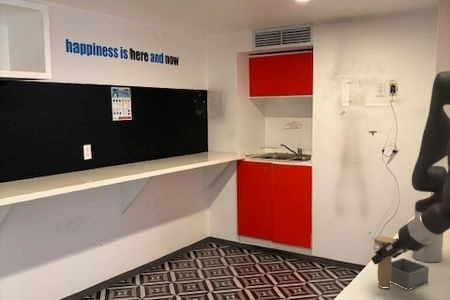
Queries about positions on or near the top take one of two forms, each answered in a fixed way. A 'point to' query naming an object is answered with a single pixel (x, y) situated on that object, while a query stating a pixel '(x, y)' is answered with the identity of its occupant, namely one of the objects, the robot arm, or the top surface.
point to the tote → (408, 273)
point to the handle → (384, 263)
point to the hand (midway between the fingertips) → (382, 258)
